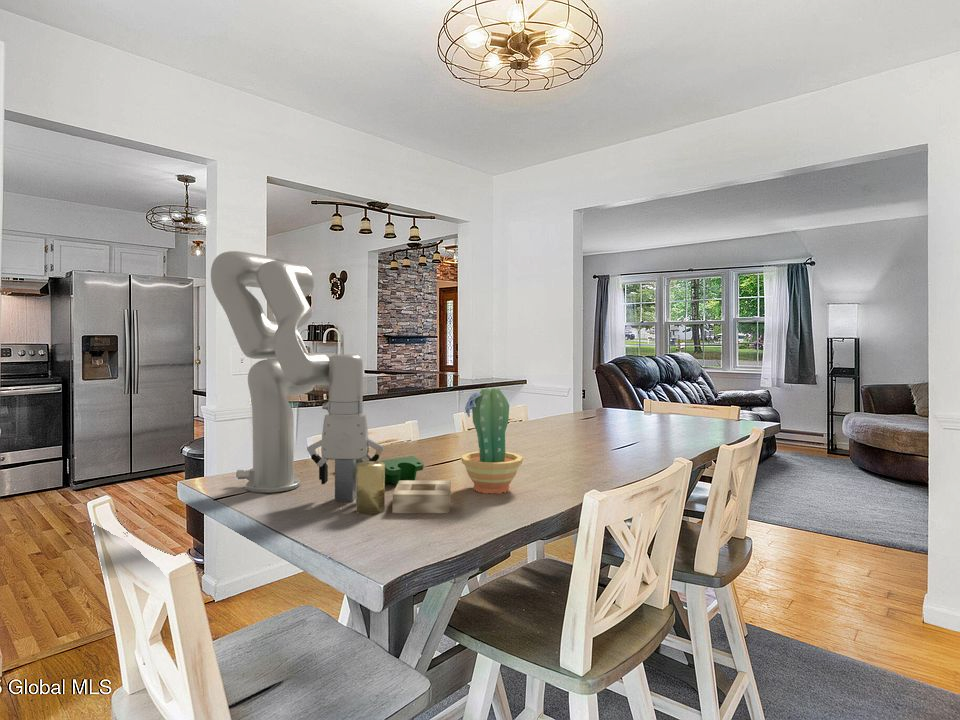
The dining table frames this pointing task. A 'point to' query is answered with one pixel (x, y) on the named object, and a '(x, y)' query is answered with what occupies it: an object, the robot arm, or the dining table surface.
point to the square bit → (345, 480)
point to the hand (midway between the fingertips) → (345, 483)
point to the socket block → (422, 496)
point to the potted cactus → (490, 443)
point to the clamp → (401, 469)
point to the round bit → (370, 487)
